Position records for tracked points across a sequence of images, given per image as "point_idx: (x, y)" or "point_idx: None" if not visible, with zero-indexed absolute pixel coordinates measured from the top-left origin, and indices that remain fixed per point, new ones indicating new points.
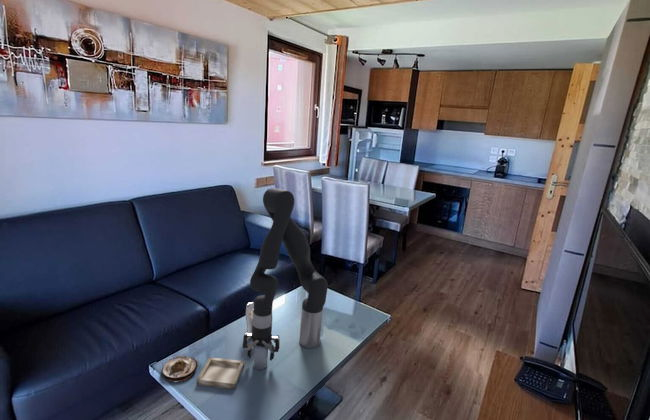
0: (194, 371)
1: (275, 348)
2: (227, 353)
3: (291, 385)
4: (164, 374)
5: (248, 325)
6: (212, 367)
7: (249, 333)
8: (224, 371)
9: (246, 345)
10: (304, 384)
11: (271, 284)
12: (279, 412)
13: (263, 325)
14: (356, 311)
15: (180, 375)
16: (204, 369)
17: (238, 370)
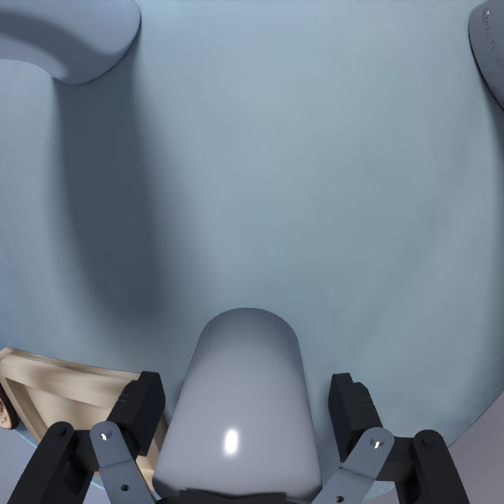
0: (11, 408)
1: (400, 498)
2: (20, 276)
3: (428, 423)
4: None
5: None
6: (35, 392)
7: (47, 69)
8: (88, 418)
9: (90, 469)
10: (476, 399)
11: None
12: (369, 497)
13: None
14: None
15: (2, 420)
16: (29, 425)
17: (149, 452)
